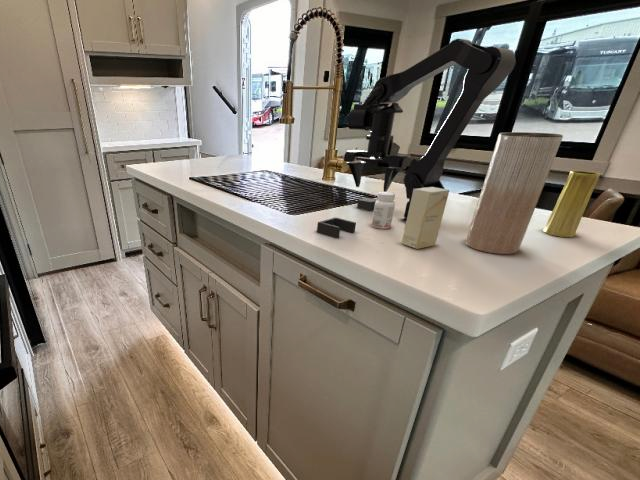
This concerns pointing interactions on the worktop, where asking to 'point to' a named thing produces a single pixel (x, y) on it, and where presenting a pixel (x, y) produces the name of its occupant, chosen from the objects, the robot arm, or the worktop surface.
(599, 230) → the worktop surface
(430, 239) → the cosmetic box
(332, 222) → the dark grey u-shaped bracket
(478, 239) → the planter
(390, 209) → the pill bottle
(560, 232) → the vase
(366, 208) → the loose pad
